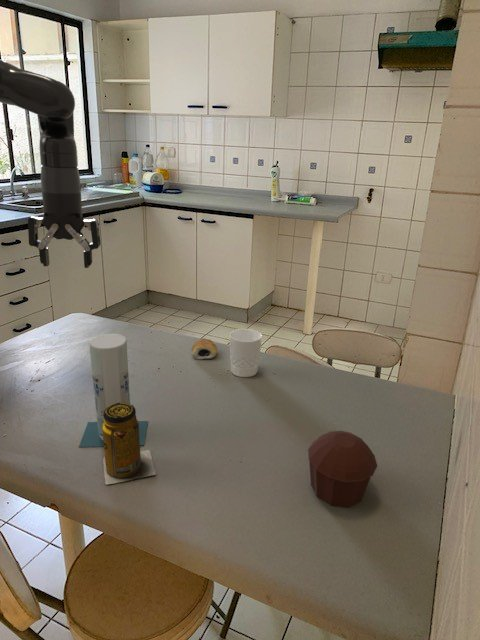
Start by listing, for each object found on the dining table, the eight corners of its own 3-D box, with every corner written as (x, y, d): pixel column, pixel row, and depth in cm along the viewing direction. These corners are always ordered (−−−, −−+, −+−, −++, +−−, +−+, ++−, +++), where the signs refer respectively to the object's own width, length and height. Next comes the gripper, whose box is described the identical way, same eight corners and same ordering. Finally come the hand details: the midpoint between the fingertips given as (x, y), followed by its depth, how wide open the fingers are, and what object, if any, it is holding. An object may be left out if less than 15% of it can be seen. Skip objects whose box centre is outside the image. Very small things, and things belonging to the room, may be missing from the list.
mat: (78, 447, 87) (78, 446, 87) (87, 422, 94) (87, 421, 94) (143, 445, 88) (143, 445, 88) (147, 421, 95) (147, 420, 95)
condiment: (102, 458, 84) (97, 402, 80) (149, 450, 87) (147, 395, 82) (105, 486, 78) (100, 426, 73) (156, 476, 80) (153, 417, 76)
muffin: (304, 462, 85) (309, 416, 81) (365, 468, 84) (373, 422, 80) (305, 511, 74) (311, 460, 70) (376, 518, 73) (385, 467, 70)
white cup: (235, 361, 121) (237, 326, 118) (264, 367, 119) (266, 332, 115) (223, 374, 115) (224, 337, 111) (253, 381, 112) (255, 344, 108)
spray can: (97, 425, 93) (88, 335, 85) (130, 420, 95) (124, 331, 87) (98, 445, 87) (89, 350, 80) (133, 439, 89) (128, 346, 82)
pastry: (192, 344, 130) (193, 332, 128) (217, 345, 130) (217, 332, 129) (191, 360, 121) (191, 347, 120) (217, 360, 122) (217, 347, 120)
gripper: (18, 189, 91) (27, 269, 96) (93, 193, 92) (97, 272, 98) (31, 185, 98) (38, 261, 103) (100, 189, 99) (103, 263, 105)
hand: (67, 266), depth 101 cm, fingers open, 8 cm apart
